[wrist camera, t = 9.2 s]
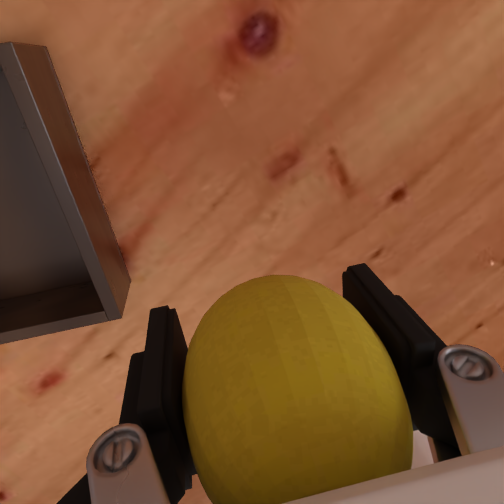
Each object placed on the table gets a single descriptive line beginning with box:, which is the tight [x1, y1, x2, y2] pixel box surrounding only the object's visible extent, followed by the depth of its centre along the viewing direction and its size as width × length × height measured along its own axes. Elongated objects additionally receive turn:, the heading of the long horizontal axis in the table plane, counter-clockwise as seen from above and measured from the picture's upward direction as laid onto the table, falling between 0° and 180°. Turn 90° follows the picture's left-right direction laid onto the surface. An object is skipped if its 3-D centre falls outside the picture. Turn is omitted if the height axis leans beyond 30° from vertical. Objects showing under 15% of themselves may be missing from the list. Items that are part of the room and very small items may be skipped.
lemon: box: [182, 275, 413, 504], centre depth 10 cm, size 6×6×8 cm
